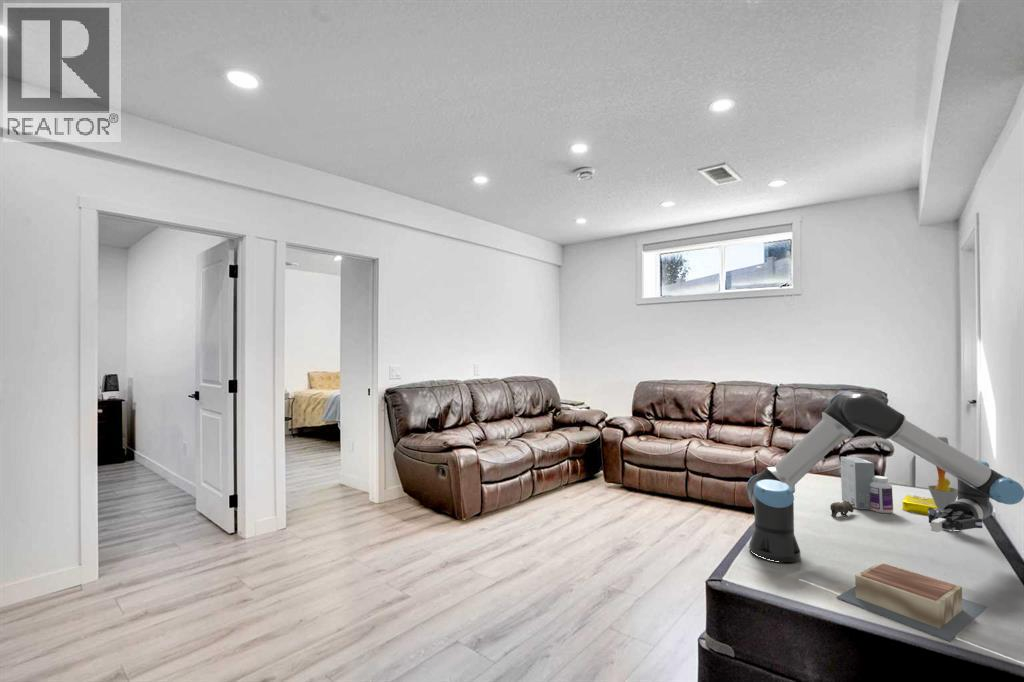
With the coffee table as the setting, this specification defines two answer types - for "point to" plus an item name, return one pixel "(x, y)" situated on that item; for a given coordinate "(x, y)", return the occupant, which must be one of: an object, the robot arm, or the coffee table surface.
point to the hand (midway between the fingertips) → (934, 526)
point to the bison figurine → (841, 508)
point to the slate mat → (944, 632)
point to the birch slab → (909, 594)
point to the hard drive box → (856, 481)
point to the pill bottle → (881, 495)
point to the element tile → (918, 504)
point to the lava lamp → (943, 489)
